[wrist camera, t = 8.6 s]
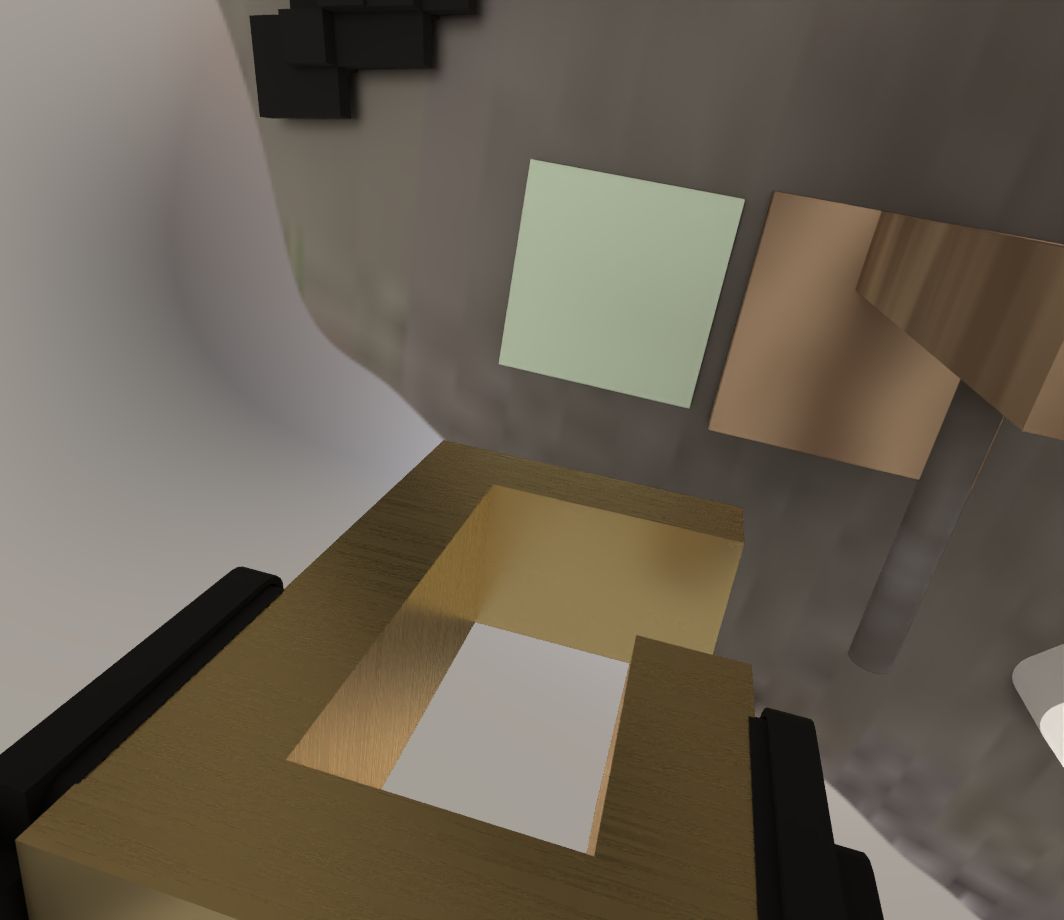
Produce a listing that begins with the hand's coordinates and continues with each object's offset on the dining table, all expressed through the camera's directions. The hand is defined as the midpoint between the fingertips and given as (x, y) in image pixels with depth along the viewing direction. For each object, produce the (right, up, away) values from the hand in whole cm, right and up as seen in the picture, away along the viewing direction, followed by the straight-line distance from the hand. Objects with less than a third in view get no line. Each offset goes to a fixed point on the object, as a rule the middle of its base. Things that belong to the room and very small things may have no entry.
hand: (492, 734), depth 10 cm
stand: (+15, +9, +21) cm, 27 cm away
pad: (+4, +11, +23) cm, 26 cm away
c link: (+1, +2, +5) cm, 6 cm away
